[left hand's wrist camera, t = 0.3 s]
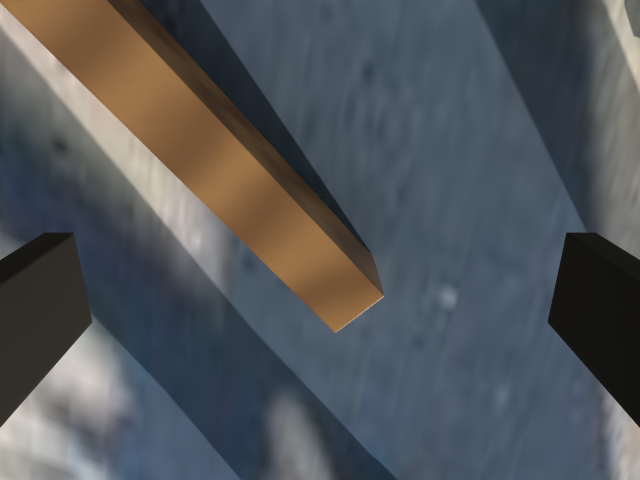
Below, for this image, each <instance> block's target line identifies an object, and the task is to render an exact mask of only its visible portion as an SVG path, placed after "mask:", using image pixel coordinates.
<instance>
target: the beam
mask: <svg viewBox="0 0 640 480" xmlns="http://www.w3.org/2000/svg"><path fill="white" fill-rule="evenodd" d="M0 3H1V4H2V5H3V6H4V7H5V8H6V9H7V10H8V11H9V12H10V13H11V14H12V15H13V16H14V17H15V18H16V19H17V20H18V21H19V22H20V23H21V24H22V25H23V26H24V27H25V28H26V29H27V30H28V31H29V32H30V33H31V34H33V35H34V36H35V37H36V38H37V39H38V40H39V41H40V42H41V43H42V44H43V45H44V46H45V47H46V48H47V49H48V50H49V51H50V52H51V53H52V54H53V55H54V56H55V57H56V58H57V59H58V60H59V61H60V62H61V63H62V64H63V65H64V66H65V67H66V68H67V69H68V70H69V71H70V72H71V73H72V74H73V75H74V76H75V77H76V78H77V79H78V80H79V81H80V82H81V83H82V84H83V85H84V86H85V87H86V88H87V89H88V90H89V91H90V92H91V93H92V94H93V95H94V96H95V97H96V98H97V99H98V100H99V101H101V102H102V103H103V104H104V105H105V106H106V107H107V108H108V109H109V110H110V111H111V112H112V113H113V114H114V115H115V116H116V117H117V118H118V119H119V120H120V121H121V122H122V123H123V124H124V125H125V126H126V127H127V128H128V129H129V130H130V131H131V132H132V133H133V134H134V135H135V136H136V137H137V138H138V139H139V140H140V141H141V142H142V143H143V144H144V145H145V146H146V147H147V148H148V149H149V150H150V151H151V152H152V153H153V154H154V155H155V156H156V157H157V158H158V159H159V160H160V161H161V162H162V163H163V164H164V165H165V166H166V167H167V168H169V169H170V170H171V171H172V172H173V173H174V174H175V175H176V176H177V177H178V178H179V179H180V180H181V181H182V182H183V183H184V184H185V185H186V186H187V187H188V188H189V189H190V190H191V191H192V192H193V193H194V194H195V195H196V196H197V197H198V198H199V199H200V200H201V201H202V202H203V203H204V204H205V205H206V206H207V207H208V208H209V209H210V210H211V211H212V212H213V213H214V214H215V215H216V216H217V217H218V218H219V219H220V220H221V221H222V222H223V223H224V224H225V225H226V226H227V227H228V228H229V229H230V230H231V231H232V232H233V233H234V234H235V235H237V236H238V237H239V238H240V239H241V240H242V241H243V242H244V243H245V244H246V245H247V246H248V247H249V248H250V249H251V250H252V251H253V252H254V253H255V254H256V255H257V256H258V257H259V258H260V259H261V260H262V261H263V262H264V263H265V264H266V265H267V266H268V267H269V268H270V269H271V270H272V271H273V272H274V273H275V274H276V275H277V276H278V277H279V278H280V279H281V280H282V281H283V282H284V283H285V284H286V285H287V286H288V287H289V288H290V289H291V290H292V291H293V292H294V293H295V294H296V295H297V296H298V297H299V298H300V299H301V300H302V301H303V302H305V303H306V304H307V305H308V306H309V307H310V308H311V309H312V310H313V311H314V312H315V313H316V314H317V315H318V316H319V317H320V318H321V319H322V320H323V321H324V322H325V323H326V324H327V325H328V326H329V327H330V328H331V329H332V330H333V331H334V332H335V333H336V332H337V331H338V330H340V329H341V328H342V327H344V326H345V325H346V324H348V323H349V322H350V321H352V320H353V319H354V318H356V317H357V316H358V315H360V314H361V313H362V312H364V311H365V310H366V309H368V308H369V307H370V306H372V305H373V304H374V303H376V302H377V301H378V300H380V299H381V298H382V297H384V293H383V290H382V286H381V283H380V279H379V275H378V272H377V268H376V265H375V261H374V258H373V256H372V255H371V253H370V252H369V251H368V250H367V249H366V248H365V247H364V246H363V245H362V244H361V243H360V241H359V240H358V239H357V238H356V237H355V236H354V235H353V234H352V233H351V232H350V230H349V229H348V228H347V227H346V226H345V225H344V224H343V223H342V222H341V221H340V220H339V218H338V217H337V216H336V215H335V214H334V213H333V212H332V211H331V210H330V209H329V208H328V206H327V205H326V204H325V203H324V202H323V201H322V200H321V199H320V198H319V197H318V195H317V194H316V193H315V192H314V191H313V190H312V189H311V188H310V187H309V186H308V185H307V183H306V182H305V181H304V180H303V179H302V178H301V177H300V176H299V175H298V174H297V173H296V171H295V170H294V169H293V168H292V167H291V166H290V165H289V164H288V163H287V162H286V161H285V159H284V158H283V157H282V156H281V155H280V154H279V153H278V152H277V151H276V150H275V148H274V147H273V146H272V145H271V144H270V143H269V142H268V141H267V140H266V139H265V138H264V136H263V135H262V134H261V133H260V132H259V131H258V130H257V129H256V128H255V127H254V126H253V124H252V123H251V122H250V121H249V120H248V119H247V118H246V117H245V116H244V115H243V113H242V112H241V111H240V110H239V109H238V108H237V107H236V106H235V105H234V104H233V103H232V101H231V100H230V99H229V98H228V97H227V96H226V95H225V94H224V93H223V92H222V91H221V89H220V88H219V87H218V86H217V85H216V84H215V83H214V82H213V81H212V80H211V78H210V77H209V76H208V75H207V74H206V73H205V72H204V71H203V70H202V69H201V68H200V66H199V65H198V64H197V63H196V62H195V61H194V60H193V59H192V58H191V57H190V56H189V54H188V53H187V52H186V51H185V50H184V49H183V48H182V47H181V46H180V45H179V44H178V42H177V41H176V40H175V39H174V38H173V37H172V36H171V35H170V34H169V33H168V31H167V30H166V29H165V28H164V27H163V26H162V25H161V24H160V23H159V22H158V21H157V19H156V18H155V17H154V16H153V15H152V14H151V13H150V12H149V11H148V10H147V9H146V7H145V6H144V5H143V4H142V3H141V2H140V1H139V0H0Z"/></svg>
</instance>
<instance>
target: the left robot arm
mask: <svg viewBox="0 0 640 480" xmlns="http://www.w3.org/2000/svg"><path fill="white" fill-rule="evenodd" d="M91 323H92V318H91V313H90V309H89V304H88V299H87V295H86V290H85V285H84V280H83V276H82V271H81V266H80V262H79V257H78V252H77V248H76V243H75V238H74V233H43V234H42V235H40V236H38V237H37V238H35V239H34V240H32V241H30V242H29V243H27V244H25V245H24V246H22V247H21V248H19V249H17V250H16V251H14V252H13V253H11V254H9V255H8V256H6V257H5V258H3V259H1V260H0V427H1V426H2V425H3V424H4V423H5V422H6V420H7V419H8V418H9V417H10V416H11V415H12V414H13V412H14V411H15V410H16V409H17V408H18V407H19V406H20V404H21V403H22V402H23V401H24V400H25V399H26V398H27V396H28V395H29V394H30V393H31V392H32V391H33V390H34V388H35V387H36V386H37V385H38V384H39V383H40V382H41V380H42V379H43V378H44V377H45V376H46V375H47V374H48V372H49V371H50V370H51V369H52V368H53V367H54V366H55V364H56V363H57V362H58V361H59V360H60V359H61V358H62V356H63V355H64V354H65V353H66V352H67V351H68V350H69V348H70V347H71V346H72V345H73V344H74V343H75V342H76V340H77V339H78V338H79V337H80V336H81V335H82V334H83V332H84V331H85V330H86V329H87V328H88V327H89V326H90V324H91ZM548 323H549V324H550V326H551V327H552V328H553V329H554V330H555V331H556V332H557V334H558V335H559V336H560V337H561V338H562V339H563V340H564V342H565V343H566V344H567V345H568V346H569V347H570V348H571V350H572V351H573V352H574V353H575V354H576V355H577V356H578V358H579V359H580V360H581V361H582V362H583V363H584V364H585V366H586V367H587V368H588V369H589V370H590V371H591V372H592V374H593V375H594V376H595V377H596V378H597V379H598V380H599V382H600V383H601V384H602V385H603V386H604V387H605V388H606V390H607V391H608V392H609V393H610V394H611V395H612V396H613V398H614V399H615V400H616V401H617V402H618V403H619V404H620V406H621V407H622V408H623V409H624V410H625V411H626V412H627V414H628V415H629V416H630V417H631V418H632V419H633V420H634V422H635V423H636V424H637V425H638V426H639V427H640V260H639V259H637V258H635V257H634V256H632V255H631V254H629V253H627V252H626V251H624V250H623V249H621V248H619V247H618V246H616V245H615V244H613V243H611V242H610V241H608V240H606V239H605V238H603V237H602V236H600V235H598V234H597V233H566V238H565V243H564V248H563V252H562V257H561V262H560V266H559V271H558V276H557V280H556V285H555V290H554V295H553V299H552V304H551V309H550V313H549V318H548Z"/></svg>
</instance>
